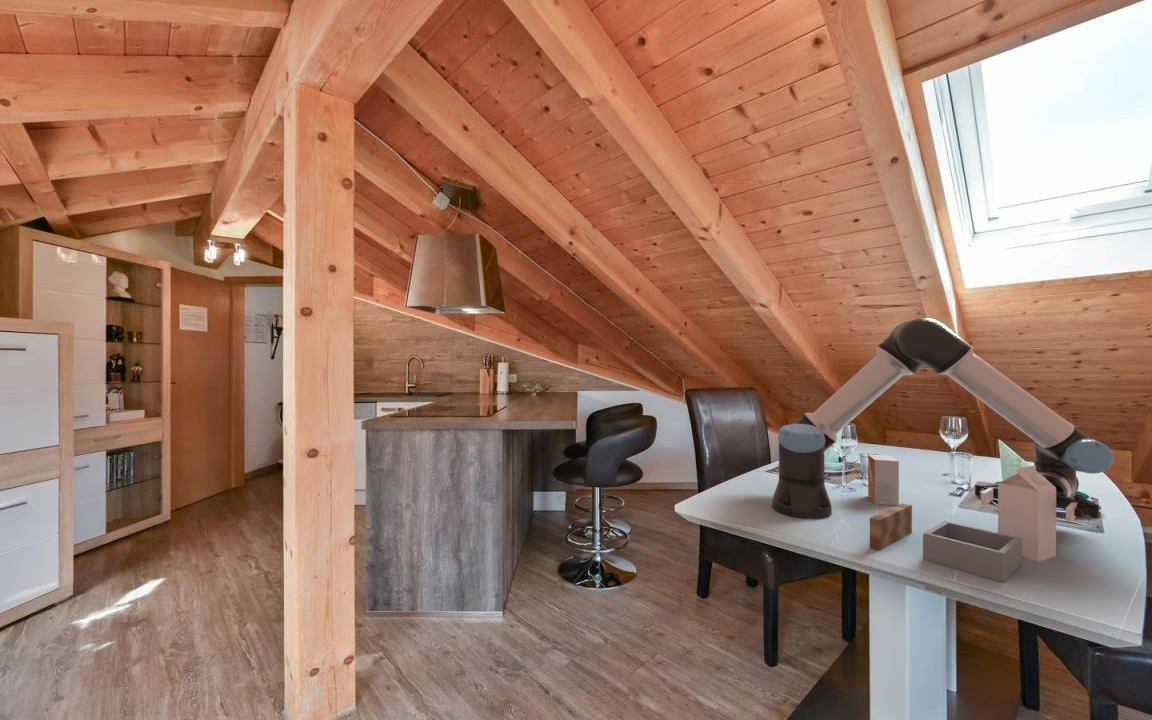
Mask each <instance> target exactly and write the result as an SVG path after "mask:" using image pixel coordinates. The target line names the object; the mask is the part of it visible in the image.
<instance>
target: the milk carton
mask: <svg viewBox="0 0 1152 720" xmlns="http://www.w3.org/2000/svg"><path fill="white" fill-rule="evenodd" d="M1016 472H1017V473H1016V474H1014V475H1012V476H1010V477H1008V478H1005V479H1003V480H1002V481H1000V482H998V483H997V484H998V499H997V533H1001V534H1005V535H1010V536H1014V537H1019V538H1022V558H1025V559H1028V560H1031V561H1035V562H1038V563H1039V562H1043V561H1046V560H1049V559H1051V558H1055V557H1057V508H1056V487H1055V486H1054V485H1052V484H1051V483H1050V482H1049V481H1048V480H1047V479H1046V478H1045V477H1044V476H1042V475H1041V474H1039V473H1038V472H1037V471H1036V466H1034V465H1030V466H1025V467H1018V468H1017V469H1016Z"/></svg>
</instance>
